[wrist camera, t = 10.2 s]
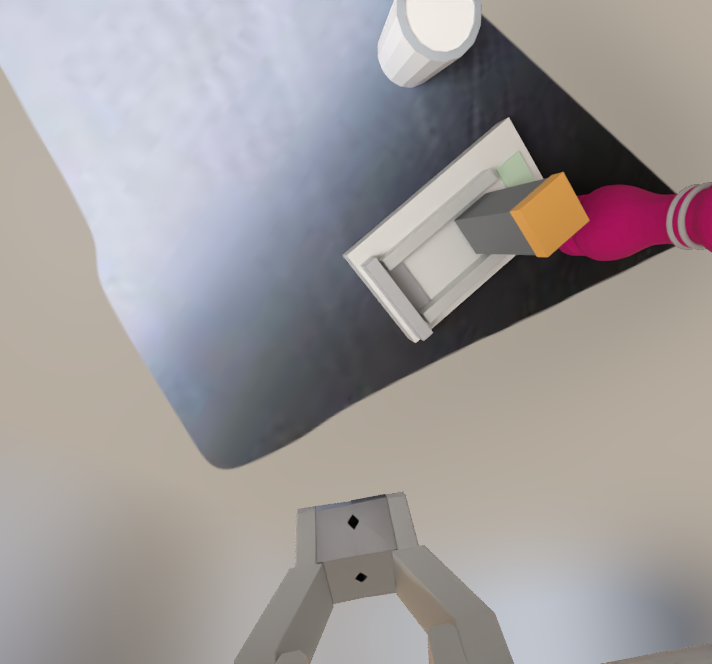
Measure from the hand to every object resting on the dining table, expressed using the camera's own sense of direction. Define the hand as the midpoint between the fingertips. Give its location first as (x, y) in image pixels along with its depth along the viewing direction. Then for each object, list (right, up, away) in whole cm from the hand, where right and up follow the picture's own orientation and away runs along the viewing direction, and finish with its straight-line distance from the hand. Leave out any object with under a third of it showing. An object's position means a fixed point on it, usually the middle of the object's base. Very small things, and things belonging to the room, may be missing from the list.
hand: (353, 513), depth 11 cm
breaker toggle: (+12, +15, +27) cm, 34 cm away
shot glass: (+5, +30, +25) cm, 40 cm away
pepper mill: (+24, +17, +33) cm, 44 cm away
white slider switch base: (+10, +15, +29) cm, 34 cm away
